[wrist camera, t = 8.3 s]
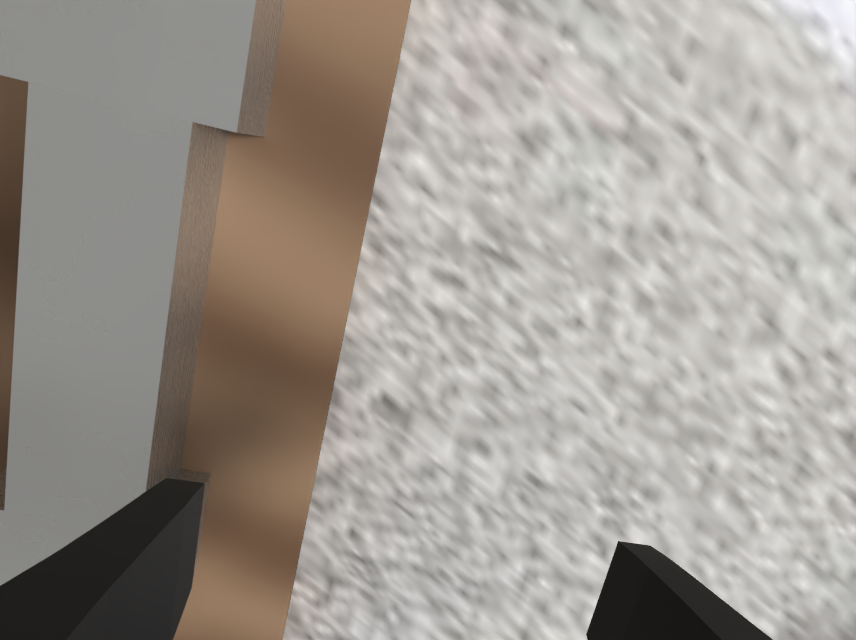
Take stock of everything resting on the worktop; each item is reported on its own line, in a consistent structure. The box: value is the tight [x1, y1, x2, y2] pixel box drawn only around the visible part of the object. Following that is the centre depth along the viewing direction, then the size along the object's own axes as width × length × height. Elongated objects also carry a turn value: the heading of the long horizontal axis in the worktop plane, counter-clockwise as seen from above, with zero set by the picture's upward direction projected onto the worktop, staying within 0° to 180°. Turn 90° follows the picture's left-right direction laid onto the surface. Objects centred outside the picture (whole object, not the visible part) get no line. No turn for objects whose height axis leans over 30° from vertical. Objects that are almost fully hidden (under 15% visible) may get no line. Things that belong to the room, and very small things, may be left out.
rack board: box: [0, 0, 411, 640], centre depth 15 cm, size 26×14×4 cm, turn 167°
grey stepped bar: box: [0, 0, 286, 586], centre depth 14 cm, size 17×5×3 cm, turn 167°
